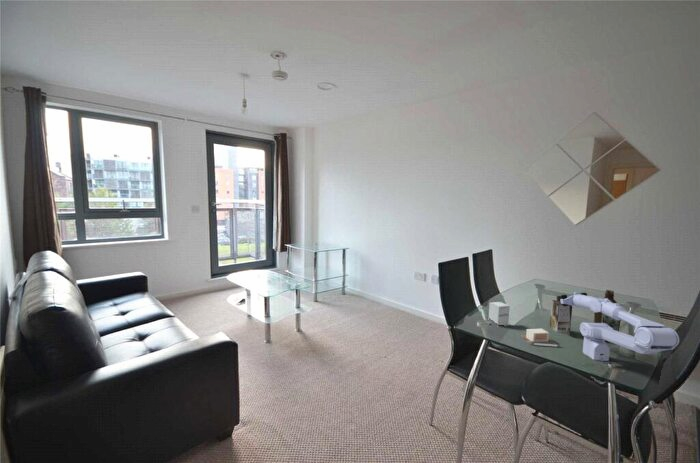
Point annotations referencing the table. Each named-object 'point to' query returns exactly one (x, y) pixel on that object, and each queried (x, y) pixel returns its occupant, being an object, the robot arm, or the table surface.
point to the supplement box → (499, 313)
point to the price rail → (545, 344)
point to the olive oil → (604, 318)
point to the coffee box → (560, 317)
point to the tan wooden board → (535, 345)
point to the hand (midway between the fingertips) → (565, 297)
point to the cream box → (537, 335)
